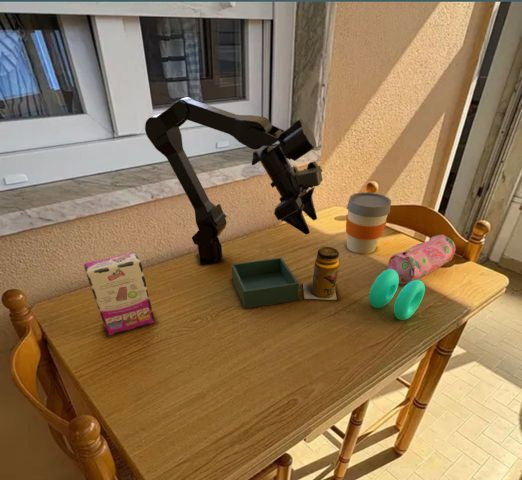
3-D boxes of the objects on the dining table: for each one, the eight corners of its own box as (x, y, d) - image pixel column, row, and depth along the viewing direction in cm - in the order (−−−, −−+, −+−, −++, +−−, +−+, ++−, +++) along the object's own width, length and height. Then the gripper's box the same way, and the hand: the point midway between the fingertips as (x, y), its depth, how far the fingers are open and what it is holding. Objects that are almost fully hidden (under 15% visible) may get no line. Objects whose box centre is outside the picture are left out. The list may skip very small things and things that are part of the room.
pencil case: (406, 291, 102) (416, 261, 96) (379, 277, 107) (387, 247, 101) (452, 268, 111) (463, 239, 105) (425, 256, 117) (434, 228, 111)
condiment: (336, 300, 98) (343, 258, 91) (304, 299, 99) (308, 257, 91) (333, 285, 104) (340, 244, 96) (302, 284, 104) (306, 243, 96)
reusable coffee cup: (385, 256, 117) (397, 207, 107) (344, 256, 117) (352, 207, 107) (376, 238, 126) (386, 192, 116) (338, 238, 126) (345, 191, 116)
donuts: (384, 295, 100) (393, 261, 94) (419, 311, 95) (432, 276, 88) (363, 311, 95) (371, 275, 88) (399, 328, 90) (410, 292, 83)
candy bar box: (150, 312, 94) (136, 251, 83) (155, 323, 90) (141, 260, 80) (103, 324, 90) (82, 262, 79) (107, 336, 87) (86, 273, 76)
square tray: (244, 308, 95) (244, 291, 92) (232, 280, 106) (231, 263, 102) (297, 300, 98) (299, 283, 95) (280, 273, 109) (281, 257, 105)
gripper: (298, 163, 81) (333, 226, 87) (316, 142, 94) (345, 198, 101) (258, 190, 87) (293, 247, 94) (280, 167, 101) (309, 218, 107)
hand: (311, 226), depth 99 cm, fingers open, 9 cm apart
